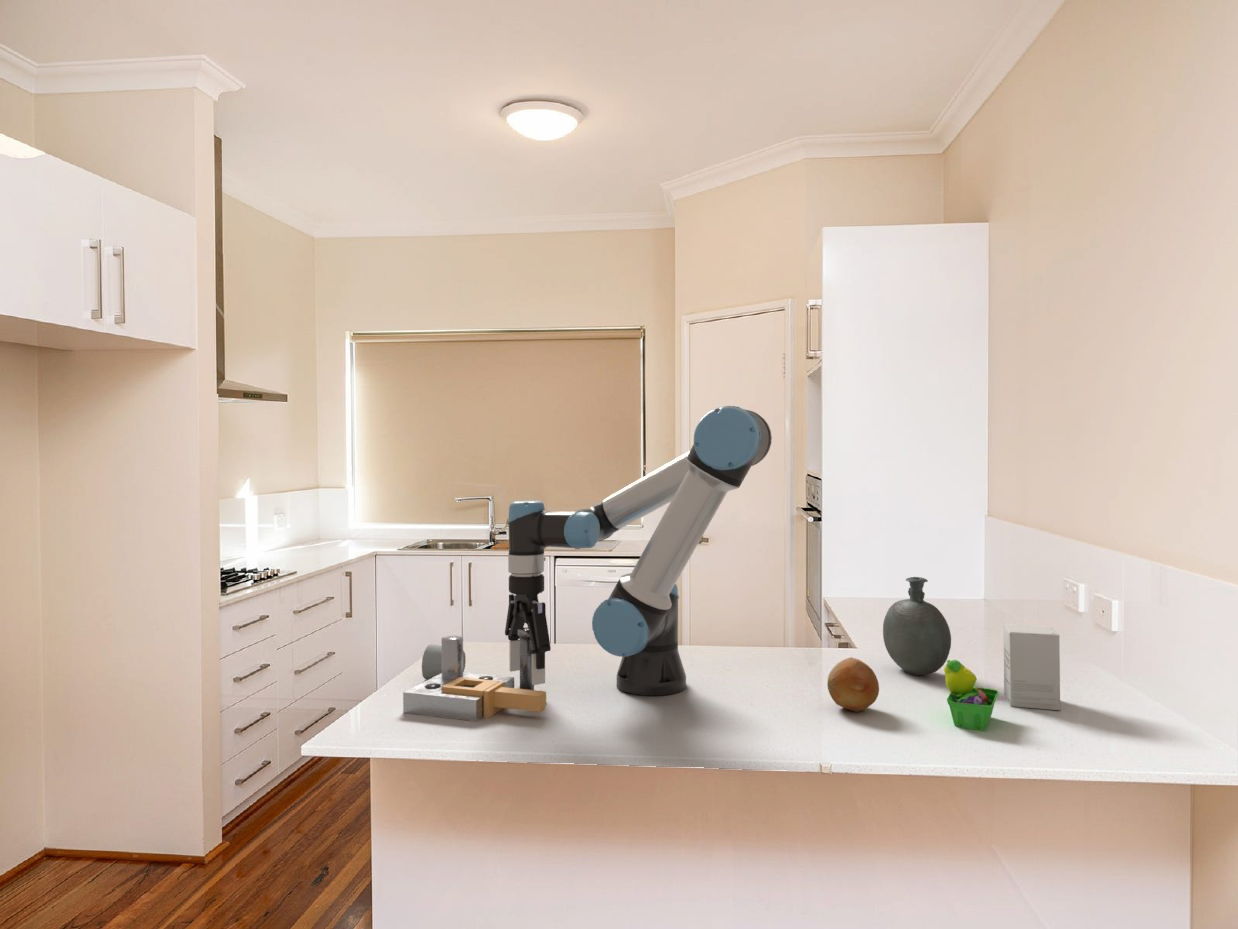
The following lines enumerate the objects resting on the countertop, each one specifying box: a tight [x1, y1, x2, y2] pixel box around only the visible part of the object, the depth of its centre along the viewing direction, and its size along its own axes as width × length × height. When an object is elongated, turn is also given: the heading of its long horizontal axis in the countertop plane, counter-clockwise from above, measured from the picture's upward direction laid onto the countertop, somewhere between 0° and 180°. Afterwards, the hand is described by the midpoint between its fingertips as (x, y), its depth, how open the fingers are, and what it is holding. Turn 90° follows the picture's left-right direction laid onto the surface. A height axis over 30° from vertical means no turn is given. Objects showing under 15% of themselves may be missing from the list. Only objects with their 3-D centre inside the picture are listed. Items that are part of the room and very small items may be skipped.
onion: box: [827, 657, 880, 713], centre depth 152 cm, size 10×10×10 cm
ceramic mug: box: [421, 643, 467, 681], centre depth 175 cm, size 11×8×8 cm
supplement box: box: [1003, 623, 1061, 711], centre depth 156 cm, size 9×9×15 cm
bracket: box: [442, 677, 547, 718], centre depth 151 cm, size 20×7×5 cm, turn 71°
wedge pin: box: [518, 626, 535, 690], centre depth 164 cm, size 4×4×13 cm
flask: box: [882, 576, 952, 676], centre depth 177 cm, size 12×17×22 cm
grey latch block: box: [402, 635, 515, 722], centre depth 156 cm, size 16×16×12 cm
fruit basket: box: [943, 659, 999, 732], centre depth 145 cm, size 11×9×11 cm
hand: (526, 677), depth 164 cm, fingers open, 11 cm apart
